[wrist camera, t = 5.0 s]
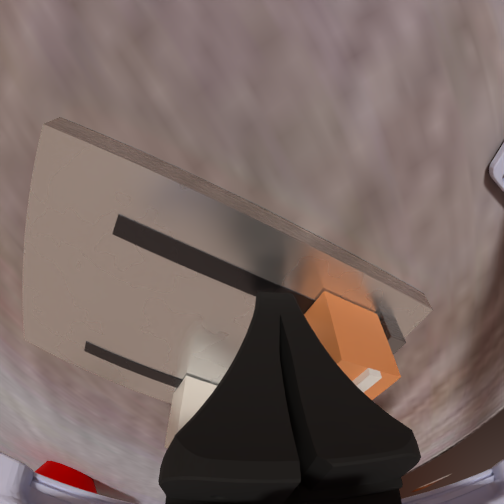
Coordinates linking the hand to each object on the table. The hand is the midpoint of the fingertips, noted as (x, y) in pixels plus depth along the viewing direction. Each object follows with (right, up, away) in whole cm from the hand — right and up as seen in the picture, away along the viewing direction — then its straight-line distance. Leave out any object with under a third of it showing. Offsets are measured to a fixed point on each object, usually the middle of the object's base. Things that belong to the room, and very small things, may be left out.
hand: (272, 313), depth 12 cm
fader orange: (+3, -1, +2) cm, 3 cm away
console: (-3, -1, +4) cm, 5 cm away
